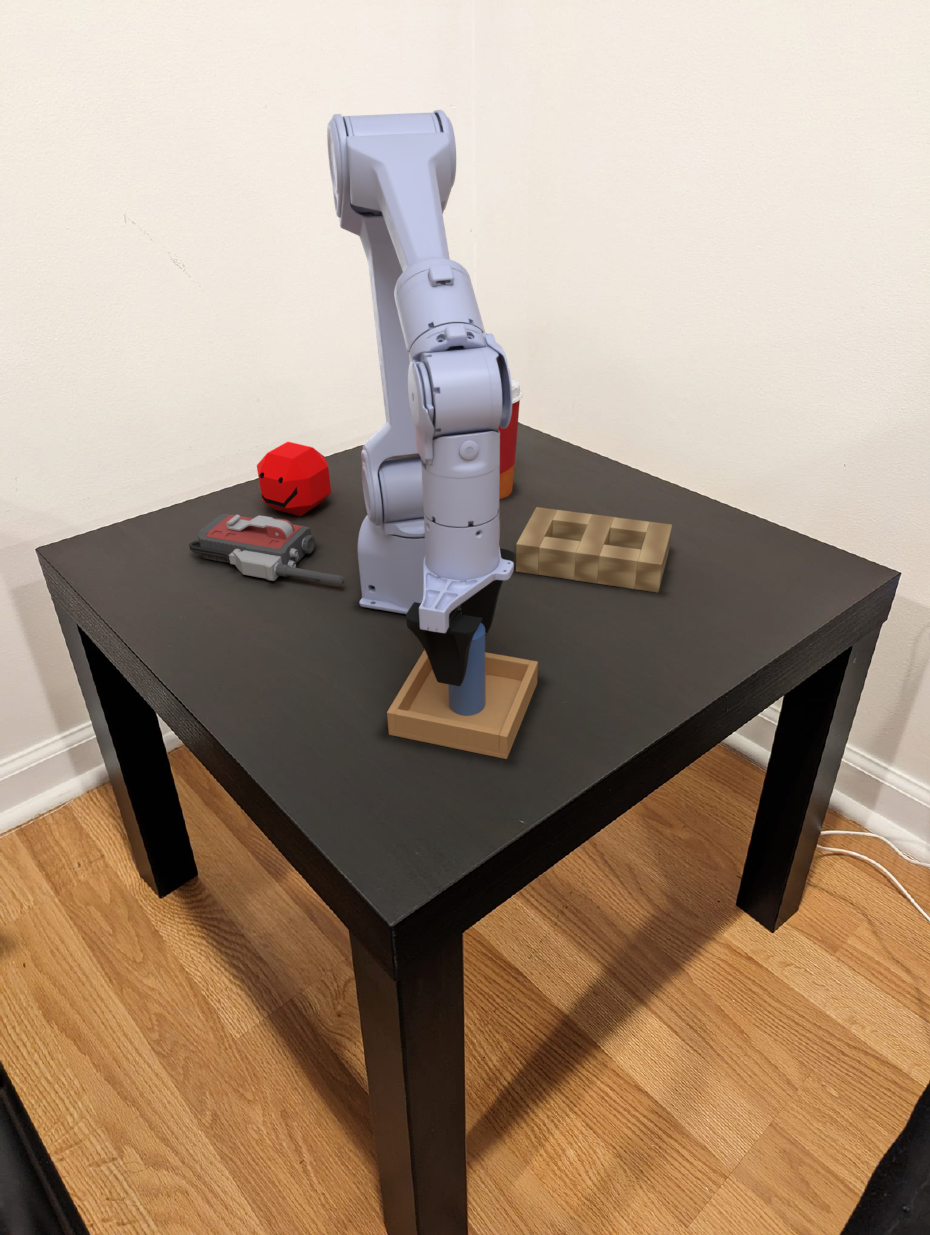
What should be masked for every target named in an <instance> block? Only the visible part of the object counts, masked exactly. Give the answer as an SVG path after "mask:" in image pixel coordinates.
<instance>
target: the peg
mask: <svg viewBox="0 0 930 1235" xmlns="http://www.w3.org/2000/svg"><path fill="white" fill-rule="evenodd" d="M485 652H486V633H485V627H484V625H483V624H482V623H480V625H479V627H478V629H477V630H476V632H475V634H474V636H473V639H472V641H471V645H470V649H469V655H468V663H467V669H466V674H465V677H464V680H463V682H462V684H461V686H454V685H449V684H448V691H449V707H450V708H451V710H452V711H453V712H455V713H457V714H459V715H464V716H469V715H475V714H477V713H479V712H481V711H482V710H483V709H484V707H485Z"/></svg>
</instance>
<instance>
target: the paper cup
mask: <svg viewBox="0 0 930 1235" xmlns="http://www.w3.org/2000/svg"><path fill="white" fill-rule="evenodd" d="M511 383H512V414H511V420H510V423H509V425H508V427H507V428H505V429H503V428H501V427H500V426H499V427H498V430H499V432H500V484H499V500H502V499H505V498H507V497H509V496H510V495H511V494H512V493H513V488H514V477H515V466H516V454H517V442H518V428H519V417H520V416H519V415H520V414H519V413H520V402H521V399H522V398H523V395H524V394H523V391H522V390H521V388H520V386H521V385H520V383H519V382H518V380H516V379H515V378H512V377H511Z"/></svg>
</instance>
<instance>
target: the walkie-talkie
mask: <svg viewBox="0 0 930 1235" xmlns="http://www.w3.org/2000/svg"><path fill="white" fill-rule="evenodd" d="M197 537H198V540H193V541H192V542H189V543H188V548H189V551H190V552H192V553H194V554H200V555H202V557H203V559H206V560H210V561H211V560H212V561H216V562H222V563H227V564H230V565H234V566H235V567H236V569H237V570H238V571H239V572H240V573H241V574H242V575H245V576H250V577H253V578H254V577H255V578H259V579H260V578H261V579H264V580H267V581H271V582H275V581H276V580H277V579H278V578H279V577H283V578H287V577H291V578H296V579H302V580H309V581H313V582H314V581H315V582H320V581H323V582H328V583H329V582H330V583H335V584H344V583H345V578H344V576H342V575H339V574H334V573H327V572H322V571H316V570H312V569H311V570H310V569H305V568H299V567H297V564H298V563H299V561H301V560H302V558H304V556H305V555H310V554H312V553H313V551H314V549H315V545H316V540H315V537H314V536H313V535H312V531H311V527H309V526H305V525H299V524H293V523H292V522H291V521H290V520H288V519H284V518H274V517H271V516H266V515H260V514H259V515H257V516H255V517H250V516H244V515H240V514H238V513H237V514H232V513H230V514H229V513H228V514H227V513H226V514H224V513H223V514H222V513H220V514H219V515H217V516H216V517H215V518H214V519H213V520H212V521H210V522H209V523H208V524H207V525H205V526H204V527H203V528H201V529H200V530H199V531H198V533H197Z"/></svg>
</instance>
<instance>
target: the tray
mask: <svg viewBox="0 0 930 1235" xmlns="http://www.w3.org/2000/svg"><path fill="white" fill-rule="evenodd" d="M538 672H539V661H537V660H530V659H525V658H520V657H515V656H509V655H503V654H498V653H497V654H496V653H491V652H486V651H485V707H484V709H483V710H482V711H481V712H479V713H477V714H475V715H469V716H464V715H459V714H457V713H455V712H453V711H452V710H451V708H450V707H449V691H448V684H444V683H438V682H437V680H436V677H435V675H434V672H433V669H432V667H431V664H430V661H429V658H428V656H427V654H426V651H425V649H423V651H422V653H421V655H420V656H419V658H418V659H417V662H416V663H415V665H414V666H413V668H412V669H411V672H410V673H409V675H408V676H407V678H406V680H405V681H404V683H403V684H402V687H401V688H400V689H399V691H398V693H397V695H396V696H395V698H394V700H393V702H392V703H391V705H390V707H389V708H388V710H387V712H386V716H387V717H386V718H387V729H388V735H389V736H394V737H397V738H403V739H408V740H413V741H417V742H422V743H426V744H427V743H428V744H432V745H437V746H441V747H447V748H450V749H456V750H460V751H466V752H470V753H475V754H480V755H483V756H484V755H485V756H489V757H493V758H499V759H504V760H507V759H508V758H509V755H510V753H511V750H512V748H513V745H514V742H515V740H516V738H517V735H518V732H519V730H520V727H521V725H522V722H523V720H524V717H525V715H526V713H527V710H528V707H529V705H530V702H531V700H532V698H533V695H534V692H535V690H536V688H537V685H538V677H539V676H538V675H539V674H538Z"/></svg>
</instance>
